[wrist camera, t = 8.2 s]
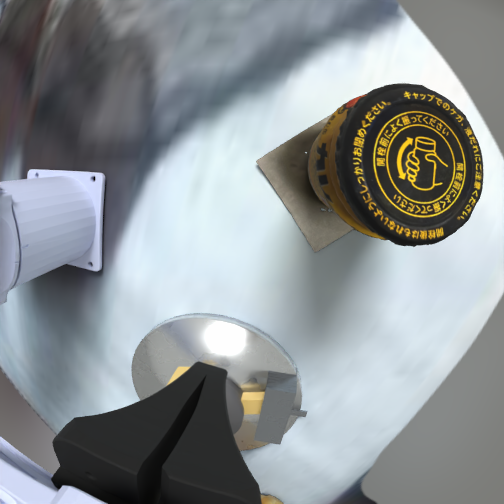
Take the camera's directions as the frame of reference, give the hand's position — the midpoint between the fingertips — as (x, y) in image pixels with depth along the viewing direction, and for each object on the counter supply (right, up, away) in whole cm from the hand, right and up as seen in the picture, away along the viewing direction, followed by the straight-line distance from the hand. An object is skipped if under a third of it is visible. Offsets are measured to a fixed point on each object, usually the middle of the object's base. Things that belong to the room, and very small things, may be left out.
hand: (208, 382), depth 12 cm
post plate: (-1, -6, +13) cm, 14 cm away
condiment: (+8, +11, +7) cm, 15 cm away
